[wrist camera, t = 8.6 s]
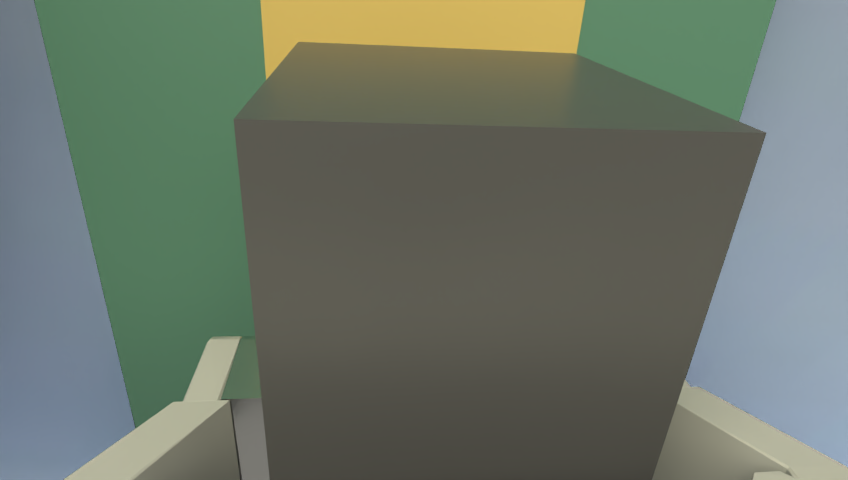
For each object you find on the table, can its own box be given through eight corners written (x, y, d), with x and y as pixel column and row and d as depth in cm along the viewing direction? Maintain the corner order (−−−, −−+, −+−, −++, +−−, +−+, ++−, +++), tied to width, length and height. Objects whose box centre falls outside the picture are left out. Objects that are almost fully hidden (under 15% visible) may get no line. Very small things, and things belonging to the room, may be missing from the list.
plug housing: (574, 53, 9) (766, 133, 5) (503, 489, 14) (568, 733, 10) (298, 41, 9) (233, 118, 4) (319, 498, 14) (297, 760, 9)
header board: (775, -191, 13) (998, -275, 8) (603, 447, 22) (665, 573, 17) (27, -264, 11) (-207, -420, 6) (174, 462, 20) (118, 607, 15)
